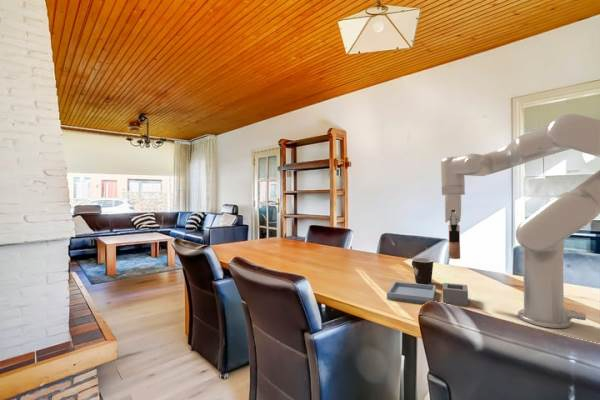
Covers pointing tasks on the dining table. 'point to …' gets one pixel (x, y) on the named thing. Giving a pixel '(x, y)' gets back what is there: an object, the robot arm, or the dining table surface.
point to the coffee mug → (423, 270)
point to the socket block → (455, 293)
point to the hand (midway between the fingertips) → (454, 240)
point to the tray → (411, 292)
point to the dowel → (454, 247)
